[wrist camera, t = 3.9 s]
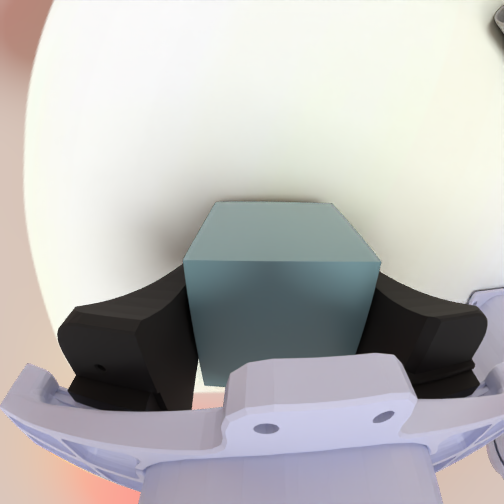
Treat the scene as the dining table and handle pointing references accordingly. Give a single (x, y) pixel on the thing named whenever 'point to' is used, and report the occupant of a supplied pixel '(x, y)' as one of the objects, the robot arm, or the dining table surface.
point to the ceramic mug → (500, 18)
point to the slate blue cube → (276, 285)
